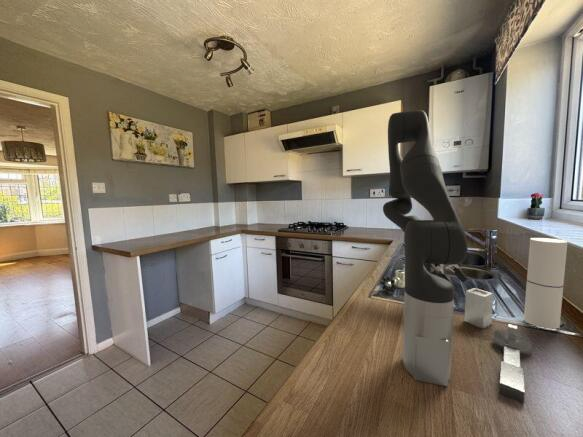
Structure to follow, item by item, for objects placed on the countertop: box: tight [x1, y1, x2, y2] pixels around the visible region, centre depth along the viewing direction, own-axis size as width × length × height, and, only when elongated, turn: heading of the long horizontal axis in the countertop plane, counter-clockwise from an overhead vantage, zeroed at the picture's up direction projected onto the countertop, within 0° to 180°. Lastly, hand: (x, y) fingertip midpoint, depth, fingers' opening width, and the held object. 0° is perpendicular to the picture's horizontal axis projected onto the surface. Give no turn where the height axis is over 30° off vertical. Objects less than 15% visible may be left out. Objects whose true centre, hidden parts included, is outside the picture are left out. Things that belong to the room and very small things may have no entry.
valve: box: [380, 269, 405, 293], centre depth 97 cm, size 7×7×12 cm
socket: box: [463, 287, 494, 330], centre depth 70 cm, size 5×5×10 cm
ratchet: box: [492, 323, 533, 404], centre depth 53 cm, size 24×7×6 cm, turn 137°
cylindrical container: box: [523, 237, 568, 329], centre depth 68 cm, size 7×7×25 cm
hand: (458, 283), depth 75 cm, fingers open, 8 cm apart
